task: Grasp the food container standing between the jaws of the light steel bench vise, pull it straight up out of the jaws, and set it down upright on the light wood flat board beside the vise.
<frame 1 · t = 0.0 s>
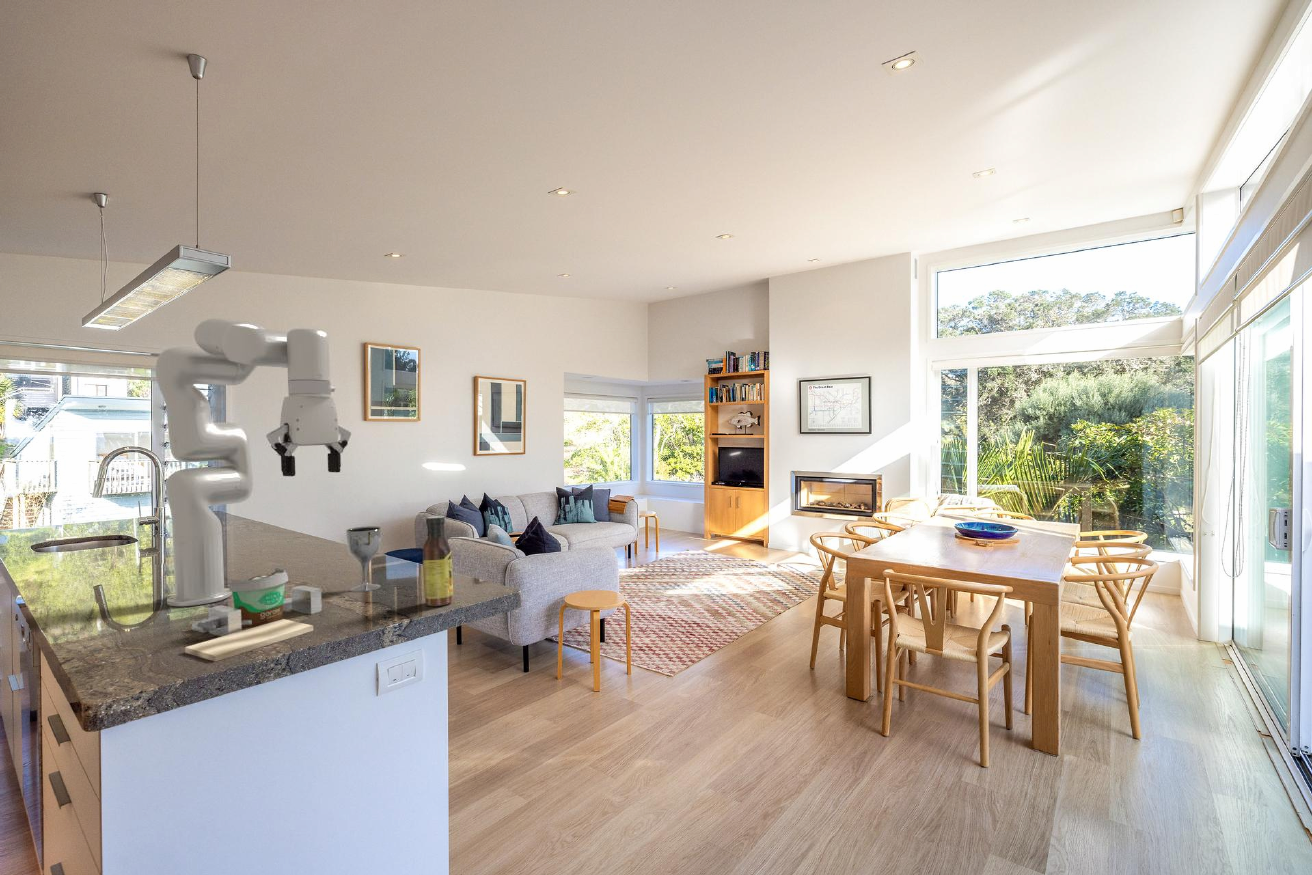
hand: (312, 474, 128), 31 cm above the counter, tool pointing down, fingers open, 9 cm apart
vise: (268, 621, 132), on the counter
light wood flat board: (252, 641, 120), on the counter
wine glass: (365, 588, 158), on the counter
food container: (268, 622, 132), on the counter
sauce bottle: (438, 604, 143), on the counter
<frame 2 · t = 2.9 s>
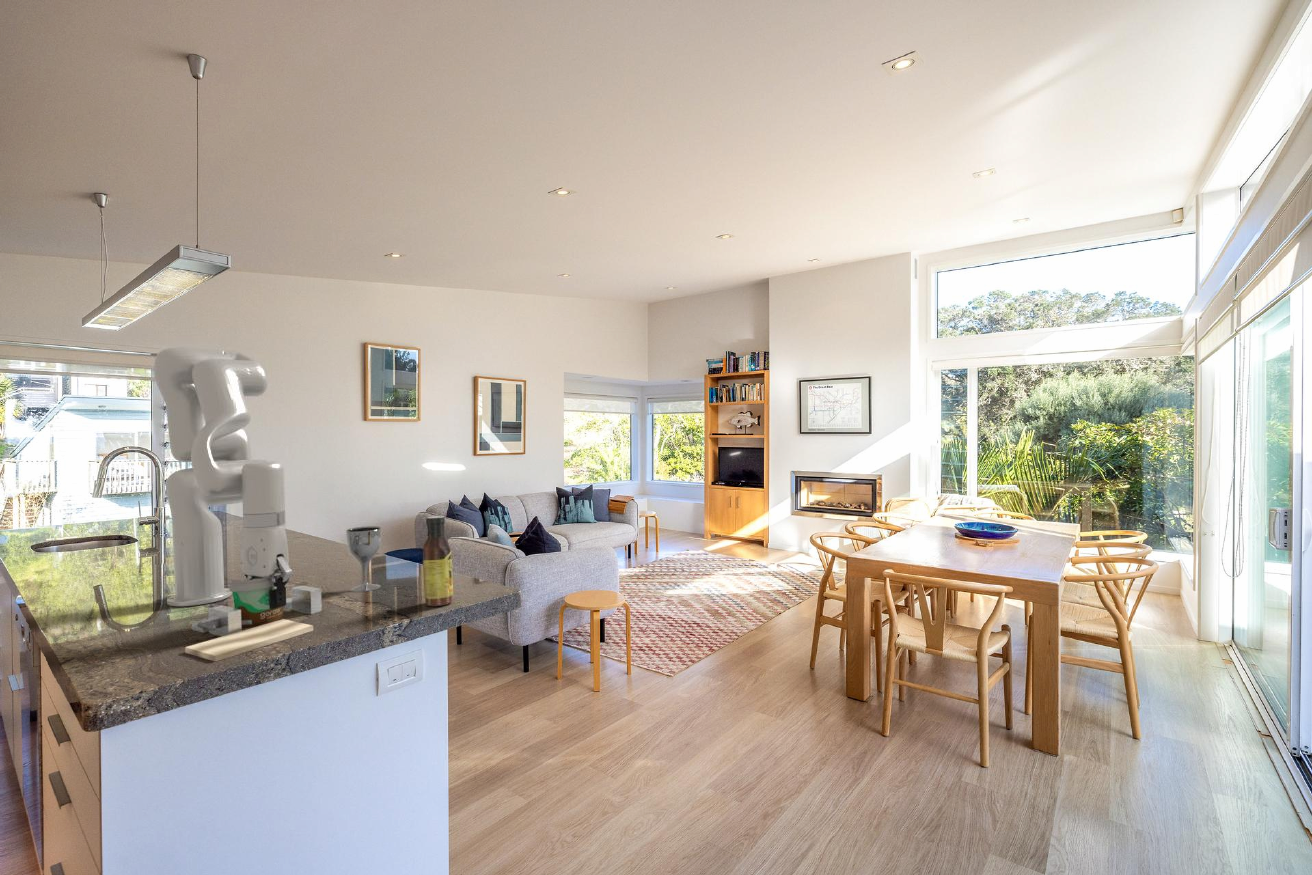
hand: (267, 604, 132), 4 cm above the counter, tool pointing down, fingers closed on food container, 6 cm apart
food container: (268, 622, 132), on the counter, touching gripper
everything else where it was.
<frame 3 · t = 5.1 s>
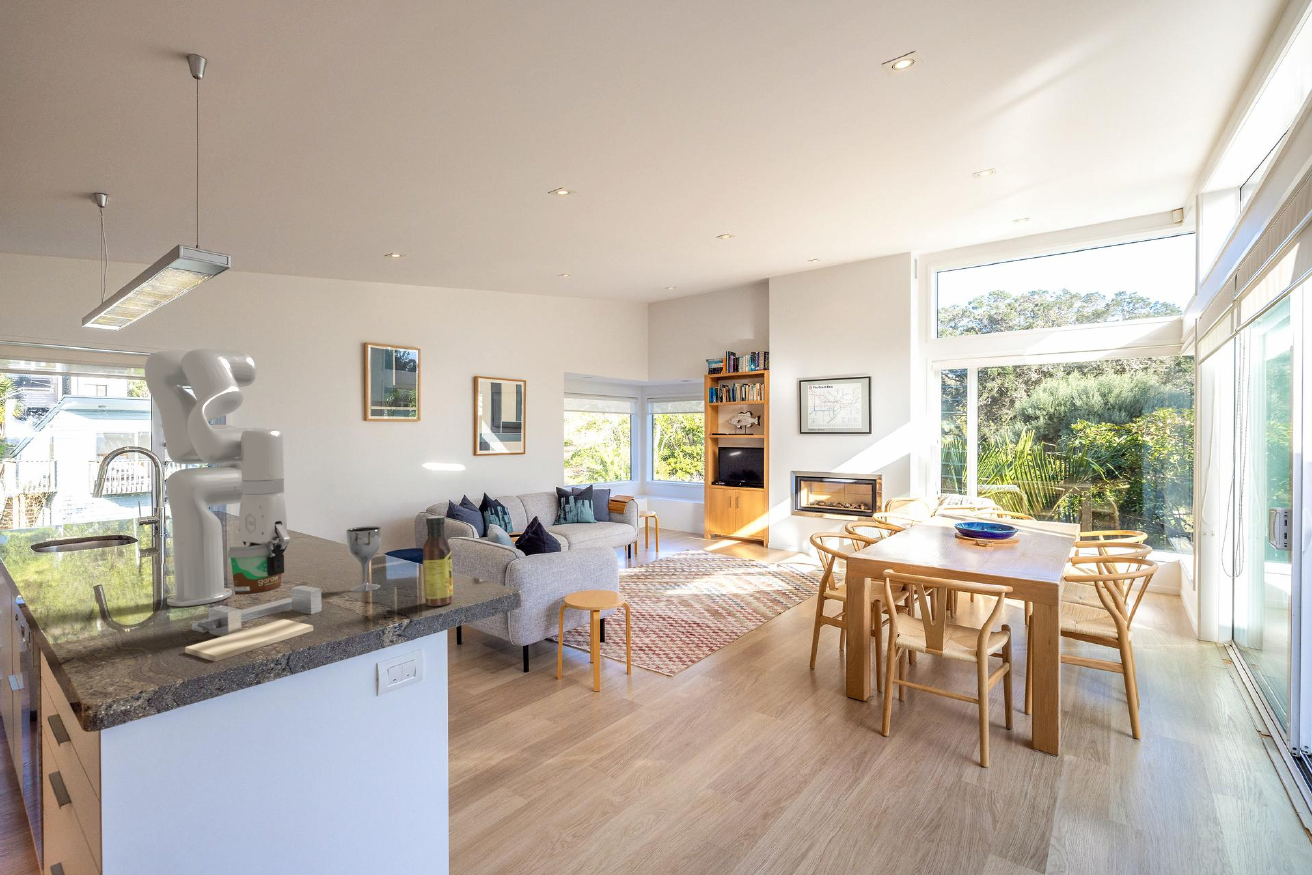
hand: (265, 571, 132), 11 cm above the counter, tool pointing down, fingers closed on food container, 6 cm apart
food container: (266, 590, 132), point 7 cm above the counter, touching gripper
everything else where it was.
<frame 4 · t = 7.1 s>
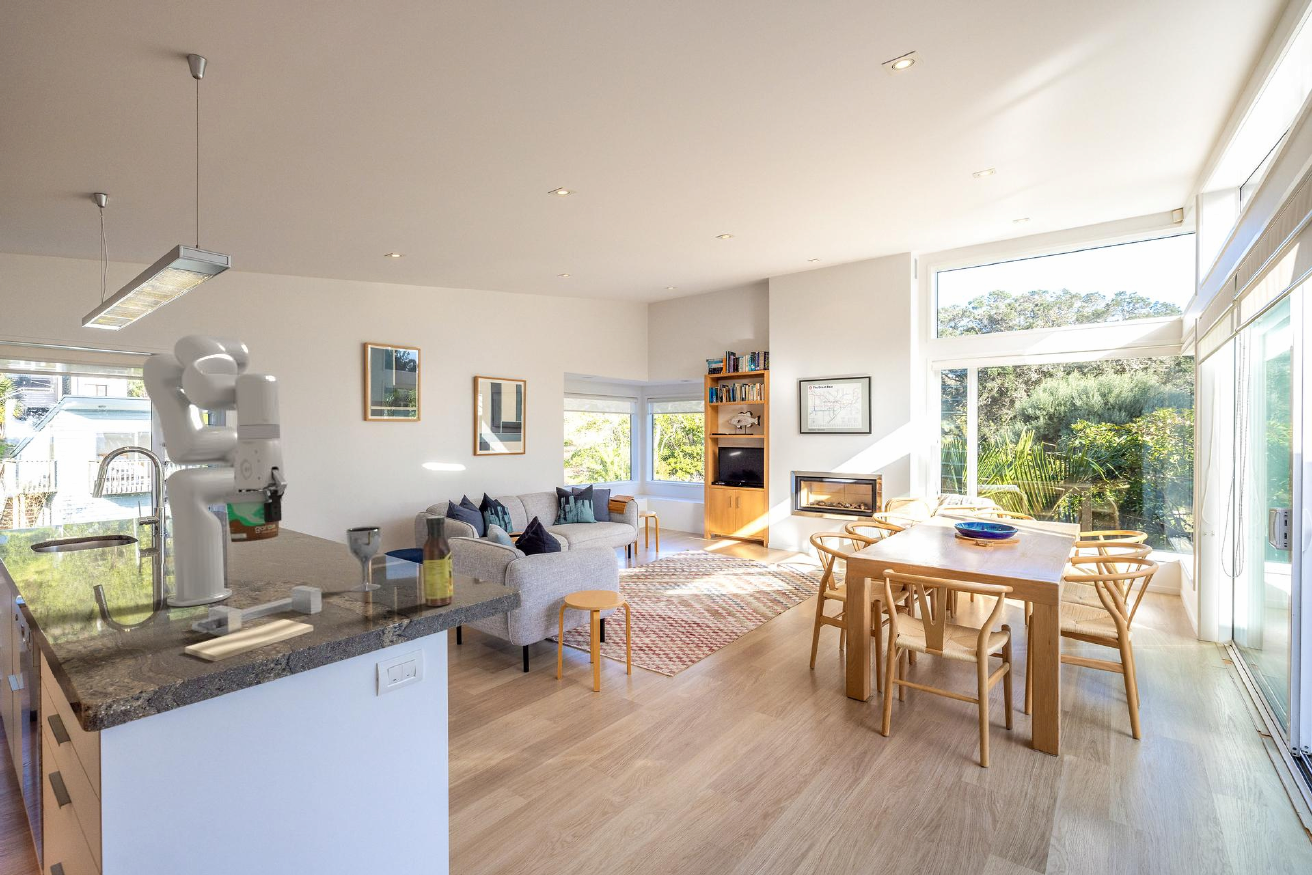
hand: (262, 520, 129), 22 cm above the counter, tool pointing down, fingers closed on food container, 6 cm apart
food container: (263, 538, 129), point 18 cm above the counter, touching gripper
everything else where it was.
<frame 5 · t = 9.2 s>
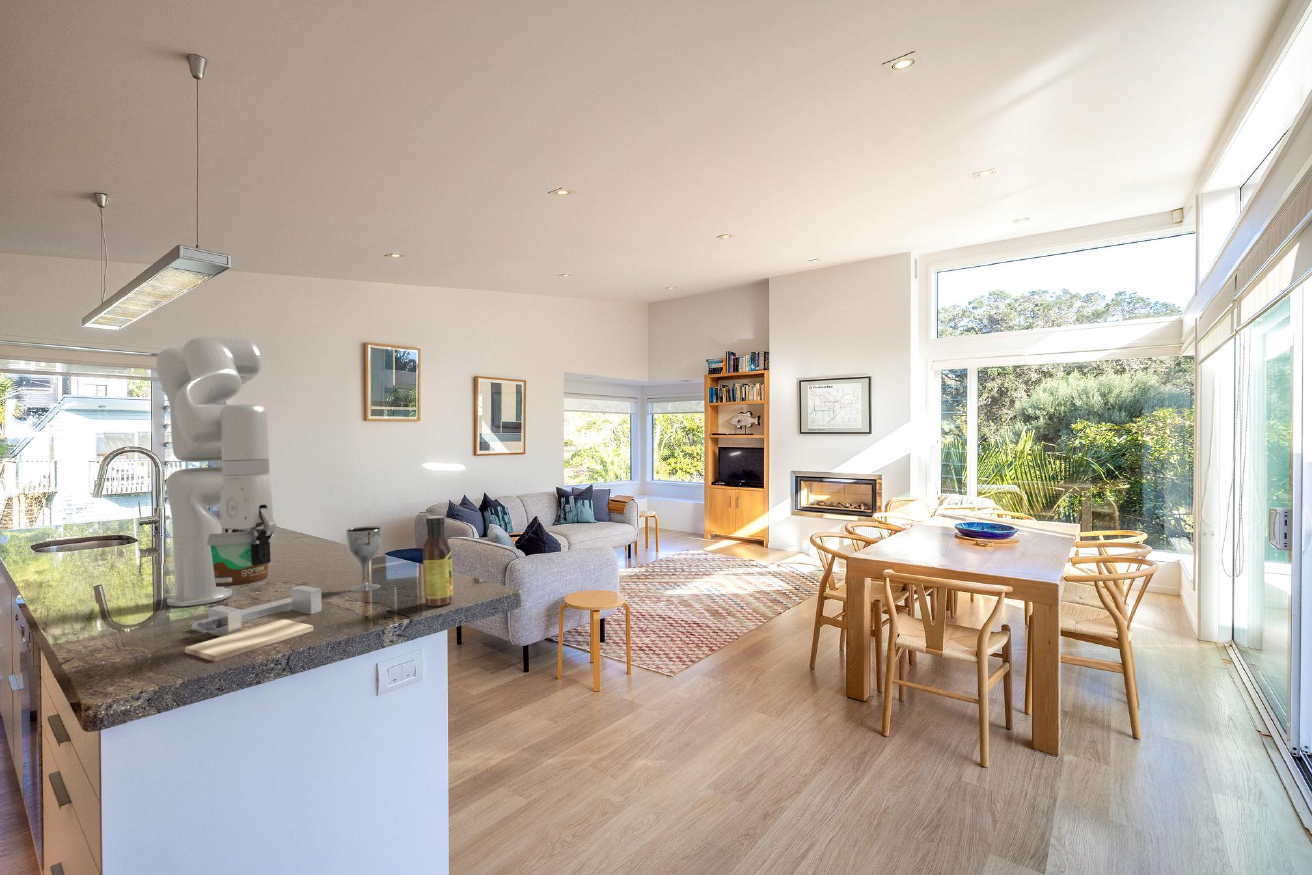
hand: (249, 561, 120), 15 cm above the counter, tool pointing down, fingers closed on food container, 6 cm apart
food container: (251, 581, 120), point 11 cm above the counter, touching gripper
everything else where it was.
when the fingers open (7 cm above the counter, at t = 11.2 s): food container drops 2 cm, resting on light wood flat board.
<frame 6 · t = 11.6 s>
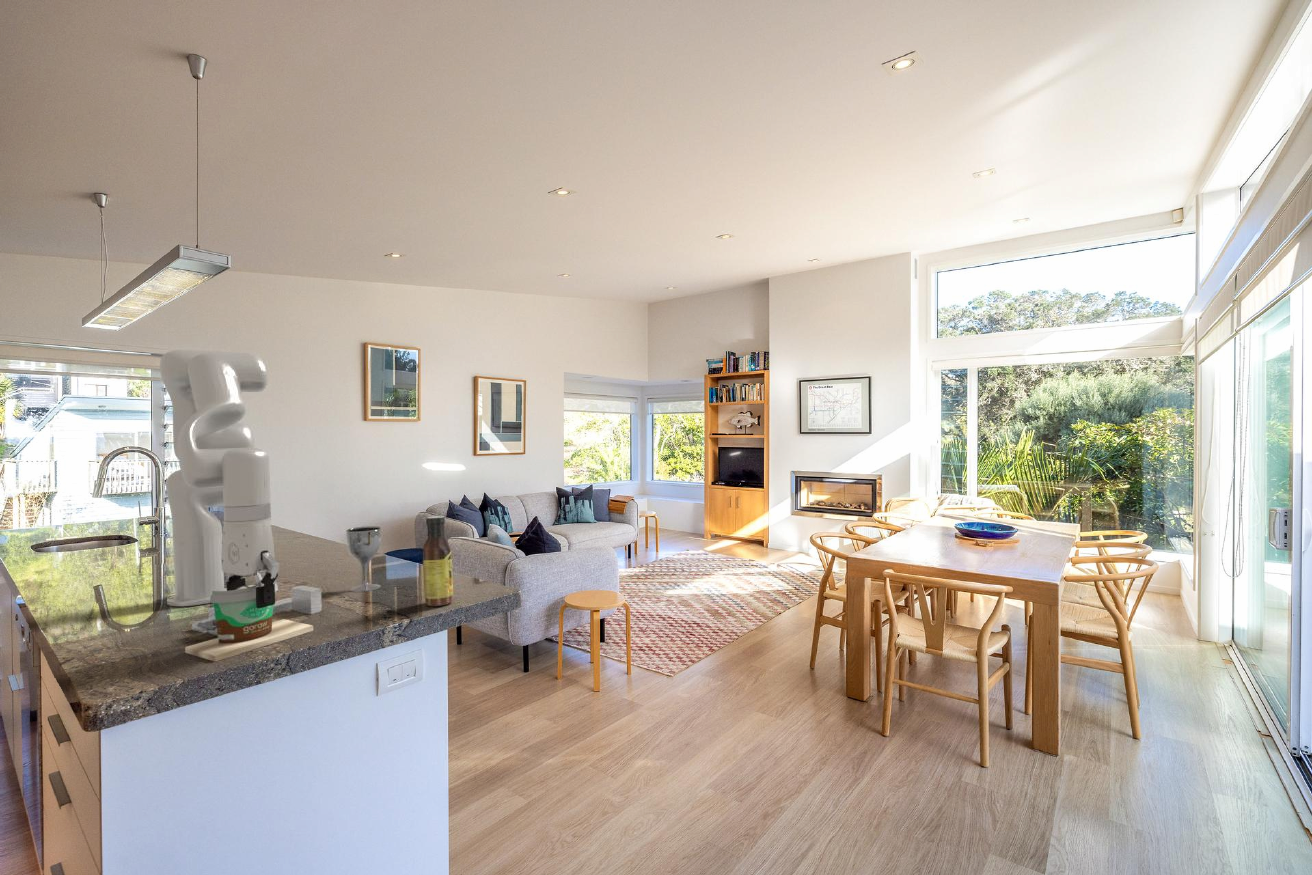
hand: (251, 603, 120), 7 cm above the counter, tool pointing down, fingers open, 9 cm apart
food container: (254, 637, 120), point 1 cm above the counter, touching light wood flat board
everything else where it was.
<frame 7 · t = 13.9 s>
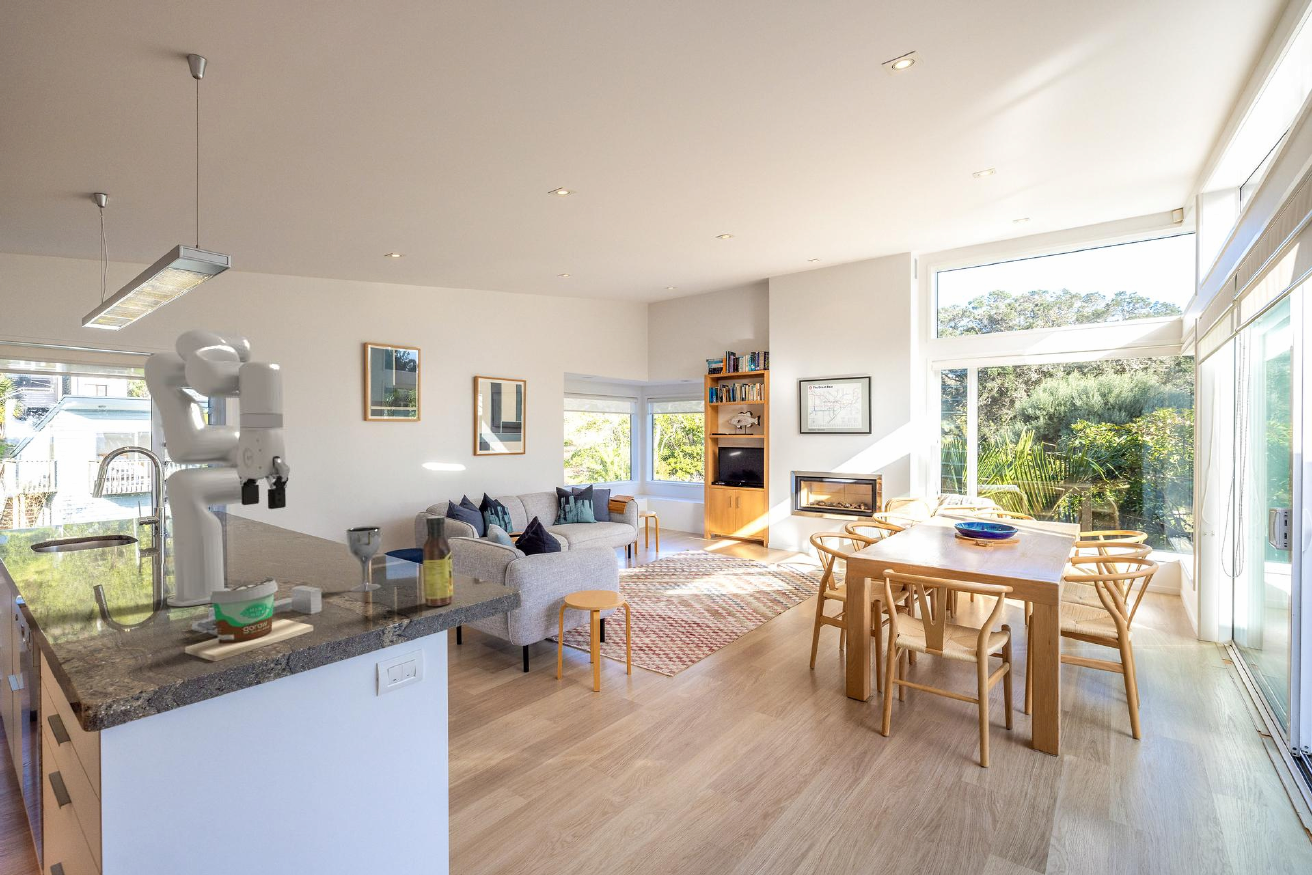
hand: (263, 506, 129), 25 cm above the counter, tool pointing down, fingers open, 9 cm apart
nothing on the counter moved.
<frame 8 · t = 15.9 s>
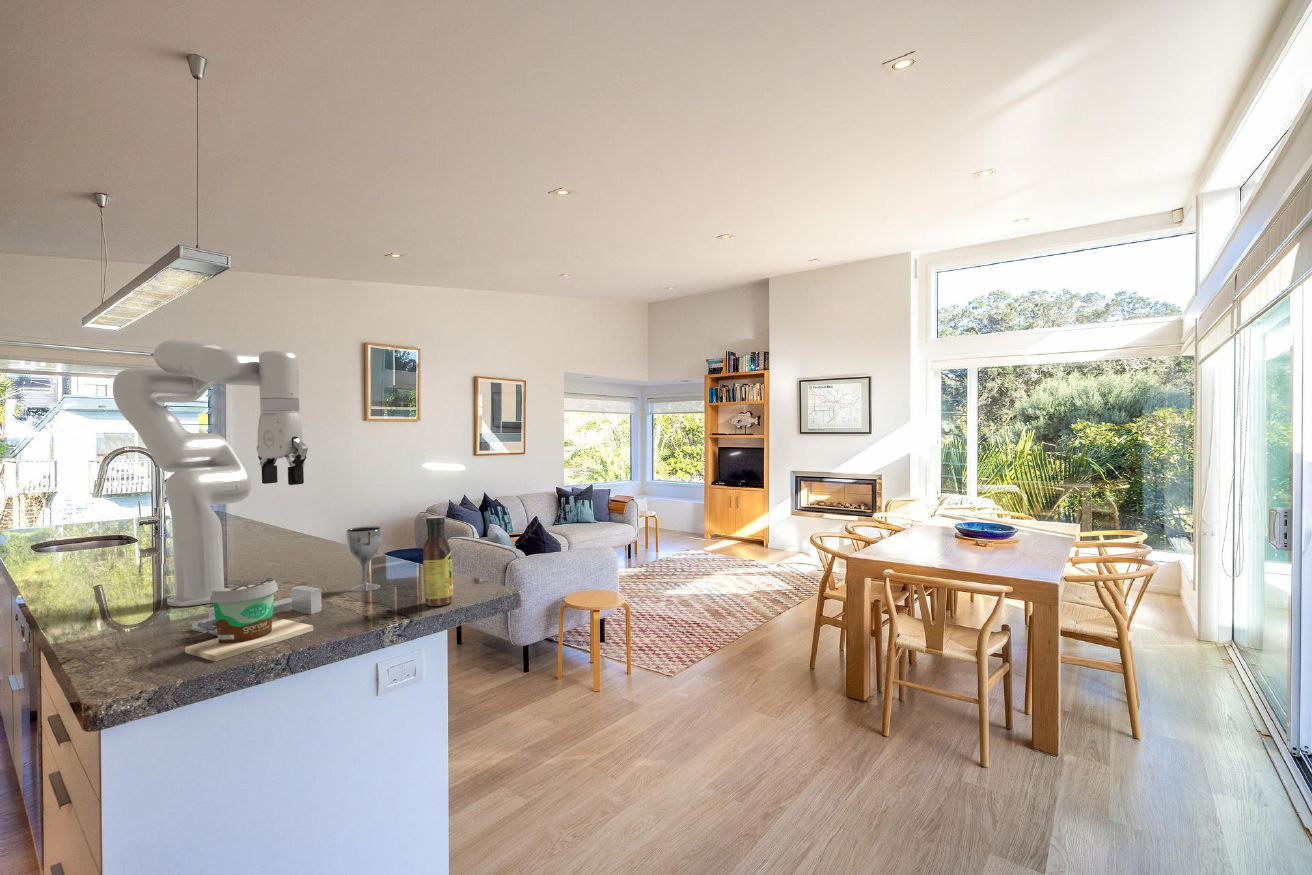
hand: (282, 483, 140), 28 cm above the counter, tool pointing down, fingers open, 9 cm apart
nothing on the counter moved.
at the end: food container inside the target area on the light wood flat board (0.6 cm from its centre), point 0.8 cm above the light wood flat board's base; food container touching light wood flat board; food container tilted 0° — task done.
